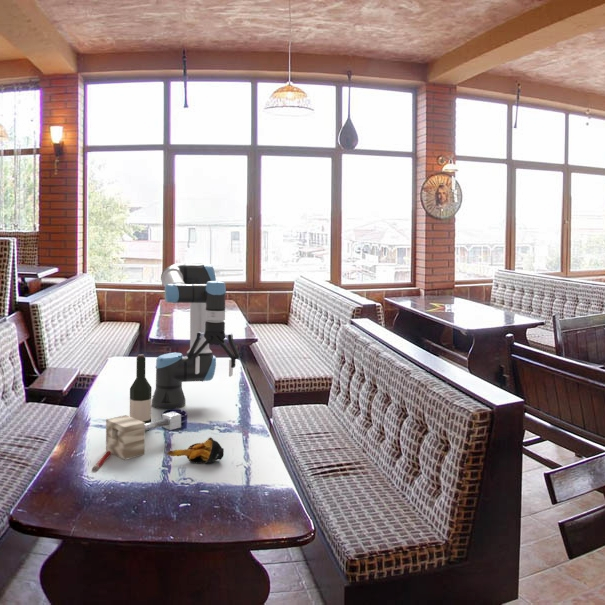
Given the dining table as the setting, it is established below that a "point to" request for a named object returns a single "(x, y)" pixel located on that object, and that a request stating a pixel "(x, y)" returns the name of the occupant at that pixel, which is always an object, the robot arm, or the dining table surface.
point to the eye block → (125, 437)
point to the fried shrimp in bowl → (201, 452)
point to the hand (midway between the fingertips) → (213, 374)
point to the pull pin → (164, 422)
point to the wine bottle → (140, 394)
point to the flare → (101, 461)
